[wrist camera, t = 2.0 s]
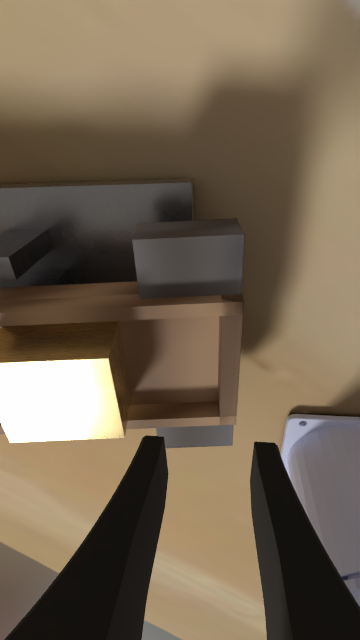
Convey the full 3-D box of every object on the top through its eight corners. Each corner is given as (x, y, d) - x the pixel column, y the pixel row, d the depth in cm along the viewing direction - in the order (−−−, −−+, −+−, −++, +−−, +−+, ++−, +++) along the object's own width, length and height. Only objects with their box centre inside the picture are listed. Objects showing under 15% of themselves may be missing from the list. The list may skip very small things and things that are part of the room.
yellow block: (117, 321, 14) (108, 358, 12) (131, 395, 17) (124, 437, 14) (1, 326, 14) (-29, 364, 12) (31, 400, 17) (10, 442, 15)
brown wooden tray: (236, 218, 14) (247, 240, 11) (227, 416, 20) (234, 455, 18) (-248, 242, 14) (-327, 268, 12) (-105, 430, 20) (-139, 469, 18)
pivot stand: (192, 178, 15) (183, 203, 11) (198, 398, 23) (193, 458, 19) (-122, 188, 17) (-222, 212, 13) (-20, 389, 25) (-65, 442, 21)
